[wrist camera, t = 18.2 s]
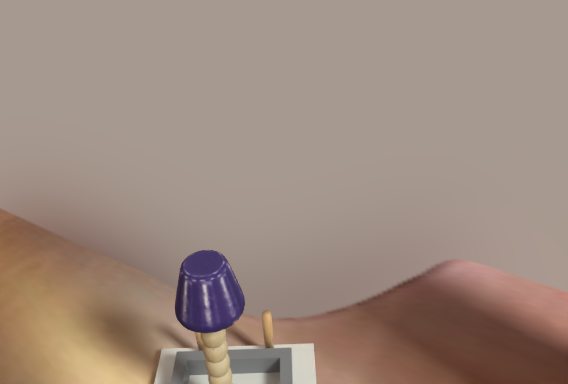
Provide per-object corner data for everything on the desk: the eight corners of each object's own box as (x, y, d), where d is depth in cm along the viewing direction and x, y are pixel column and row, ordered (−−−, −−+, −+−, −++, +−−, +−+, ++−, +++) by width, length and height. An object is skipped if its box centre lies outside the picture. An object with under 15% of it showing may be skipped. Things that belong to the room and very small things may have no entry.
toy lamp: (196, 400, 44) (163, 247, 34) (251, 387, 45) (232, 234, 35) (204, 454, 40) (169, 299, 31) (263, 438, 41) (247, 282, 32)
